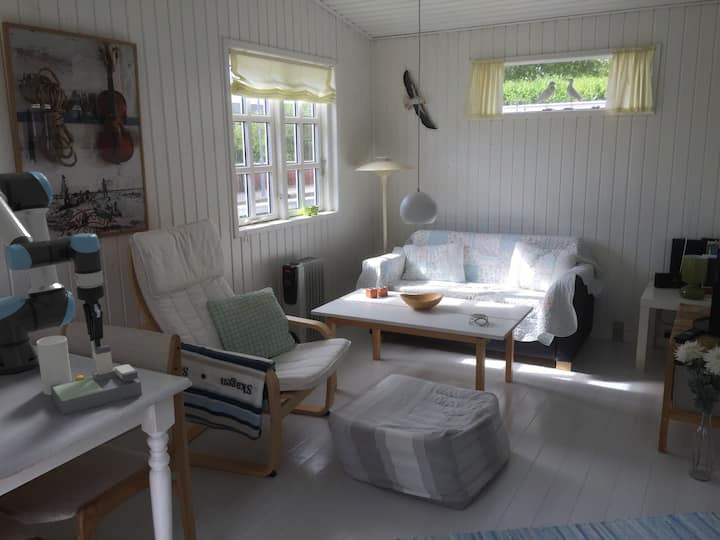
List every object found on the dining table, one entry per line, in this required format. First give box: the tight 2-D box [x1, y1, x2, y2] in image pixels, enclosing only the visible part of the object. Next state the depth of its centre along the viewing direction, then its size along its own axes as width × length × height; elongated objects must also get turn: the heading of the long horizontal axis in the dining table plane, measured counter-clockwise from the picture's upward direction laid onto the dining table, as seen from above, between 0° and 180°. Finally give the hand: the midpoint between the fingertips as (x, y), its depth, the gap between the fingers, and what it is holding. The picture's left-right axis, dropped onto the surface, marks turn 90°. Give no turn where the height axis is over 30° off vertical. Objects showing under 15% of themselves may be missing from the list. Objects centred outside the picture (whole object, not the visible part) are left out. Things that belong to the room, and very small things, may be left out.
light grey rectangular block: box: [95, 344, 114, 375], centre depth 190 cm, size 2×4×8 cm, turn 128°
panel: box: [50, 363, 143, 415], centre depth 188 cm, size 14×22×7 cm, turn 128°
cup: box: [36, 335, 73, 396], centre depth 193 cm, size 8×8×16 cm
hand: (98, 358), depth 196 cm, fingers closed
